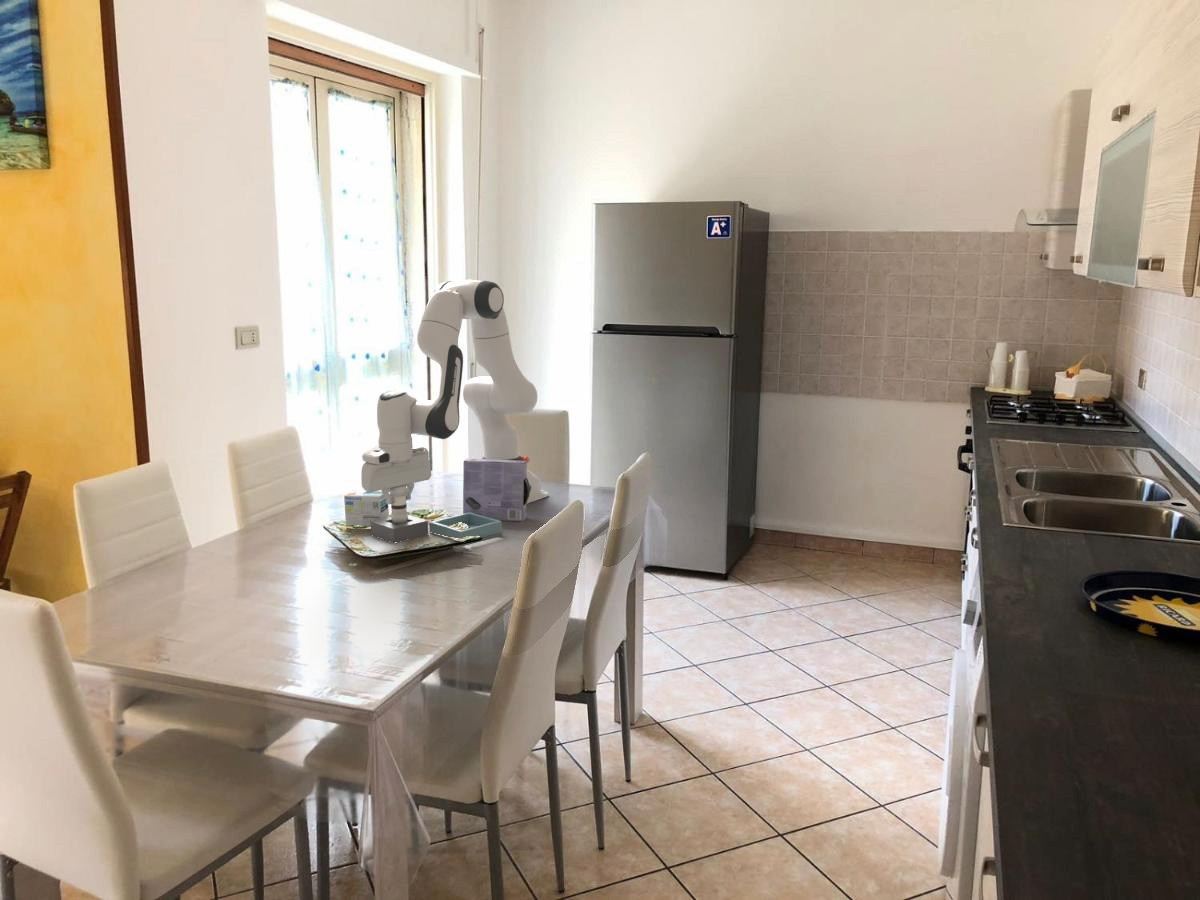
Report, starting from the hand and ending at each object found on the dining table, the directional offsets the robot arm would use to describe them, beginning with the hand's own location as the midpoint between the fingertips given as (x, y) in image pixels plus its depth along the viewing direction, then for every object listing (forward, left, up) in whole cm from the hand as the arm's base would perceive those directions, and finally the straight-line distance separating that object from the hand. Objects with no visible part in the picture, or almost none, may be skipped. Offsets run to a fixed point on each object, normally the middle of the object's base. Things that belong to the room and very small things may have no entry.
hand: (398, 501), depth 253 cm
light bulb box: (+1, -14, -11) cm, 18 cm away
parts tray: (-14, +11, -10) cm, 20 cm away
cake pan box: (-31, +4, -11) cm, 33 cm away
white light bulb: (0, 0, -6) cm, 6 cm away
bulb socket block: (0, 0, -10) cm, 10 cm away
